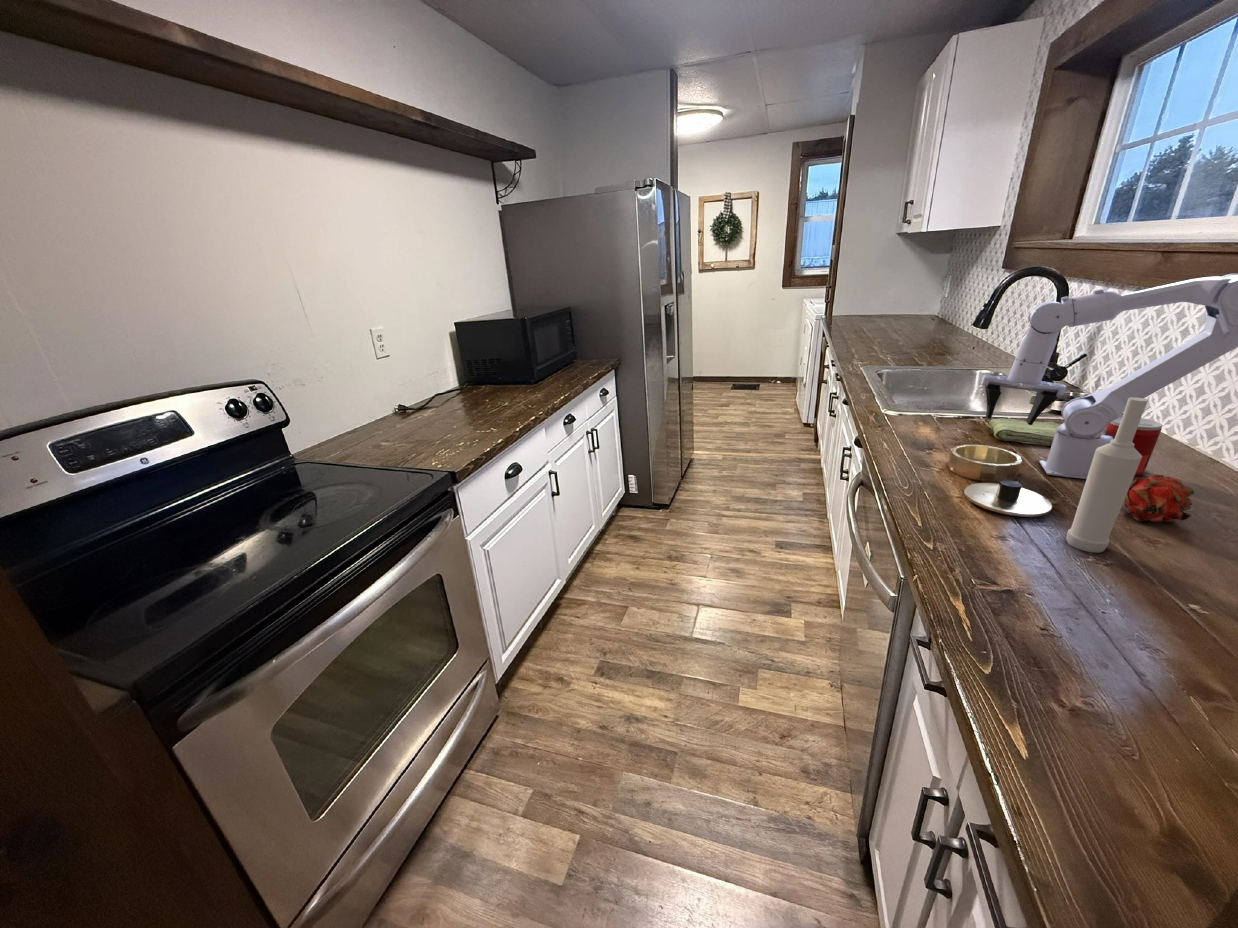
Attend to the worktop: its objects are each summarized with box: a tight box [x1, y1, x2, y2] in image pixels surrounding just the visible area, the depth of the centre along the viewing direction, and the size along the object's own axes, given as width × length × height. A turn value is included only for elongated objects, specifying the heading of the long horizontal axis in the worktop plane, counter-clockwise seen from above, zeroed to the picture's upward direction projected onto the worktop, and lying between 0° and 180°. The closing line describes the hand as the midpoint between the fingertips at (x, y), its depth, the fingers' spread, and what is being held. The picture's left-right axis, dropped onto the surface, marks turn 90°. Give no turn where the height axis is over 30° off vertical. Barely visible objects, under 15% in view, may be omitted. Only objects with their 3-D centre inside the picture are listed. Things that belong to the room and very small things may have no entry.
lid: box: [963, 480, 1053, 518], centre depth 96 cm, size 14×14×4 cm
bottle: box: [1065, 397, 1149, 554], centre depth 78 cm, size 5×5×25 cm
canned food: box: [1103, 416, 1163, 477], centre depth 106 cm, size 8×8×11 cm
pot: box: [948, 444, 1023, 483], centre depth 110 cm, size 13×13×4 cm
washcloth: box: [989, 418, 1063, 447], centre depth 128 cm, size 13×18×3 cm
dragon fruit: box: [1124, 473, 1195, 523], centre depth 88 cm, size 8×8×12 cm
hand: (1008, 420), depth 112 cm, fingers open, 7 cm apart
